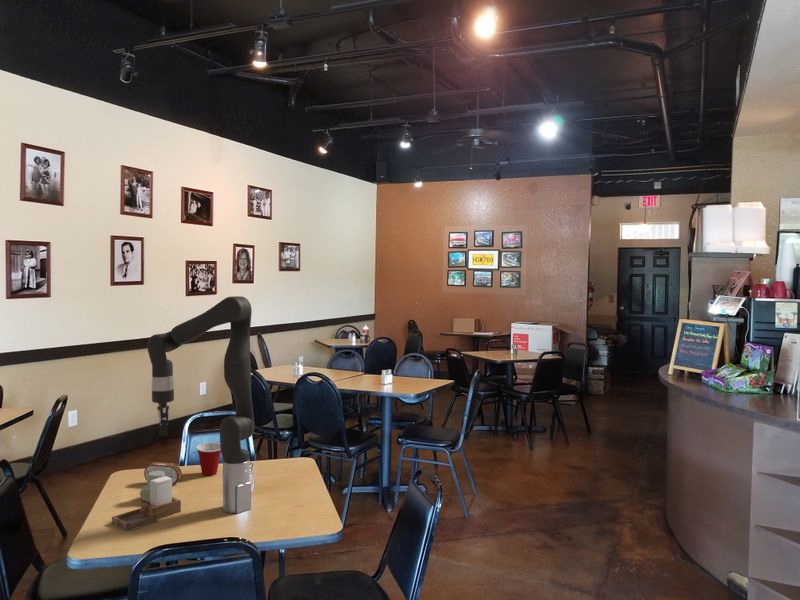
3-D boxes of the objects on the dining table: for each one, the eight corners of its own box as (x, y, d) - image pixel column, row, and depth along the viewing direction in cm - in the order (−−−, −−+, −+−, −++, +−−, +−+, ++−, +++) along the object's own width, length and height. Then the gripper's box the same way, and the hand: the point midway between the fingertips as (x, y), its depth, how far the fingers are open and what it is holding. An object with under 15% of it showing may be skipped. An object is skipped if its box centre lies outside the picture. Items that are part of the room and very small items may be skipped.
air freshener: (135, 502, 218) (135, 475, 218) (150, 494, 226) (150, 468, 226) (162, 505, 215) (162, 477, 215) (175, 497, 223) (175, 470, 223)
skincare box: (156, 517, 204) (156, 482, 204) (149, 514, 207) (149, 480, 206) (172, 512, 209) (172, 478, 208) (165, 509, 211) (165, 475, 211)
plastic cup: (202, 480, 243) (202, 450, 243) (191, 473, 251) (191, 445, 251) (227, 474, 250) (227, 446, 250) (216, 468, 258) (216, 441, 258)
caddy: (183, 512, 208) (183, 501, 208) (127, 531, 192) (127, 519, 192) (167, 506, 214) (167, 495, 214) (111, 523, 198) (111, 511, 198)
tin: (182, 484, 238) (182, 463, 238) (178, 486, 235) (178, 465, 235) (147, 481, 241) (147, 461, 240) (142, 484, 237) (142, 463, 237)
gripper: (175, 390, 213) (176, 435, 213) (172, 384, 226) (173, 427, 226) (152, 392, 210) (153, 438, 210) (150, 386, 223) (151, 429, 223)
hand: (163, 432), depth 218 cm, fingers open, 8 cm apart
